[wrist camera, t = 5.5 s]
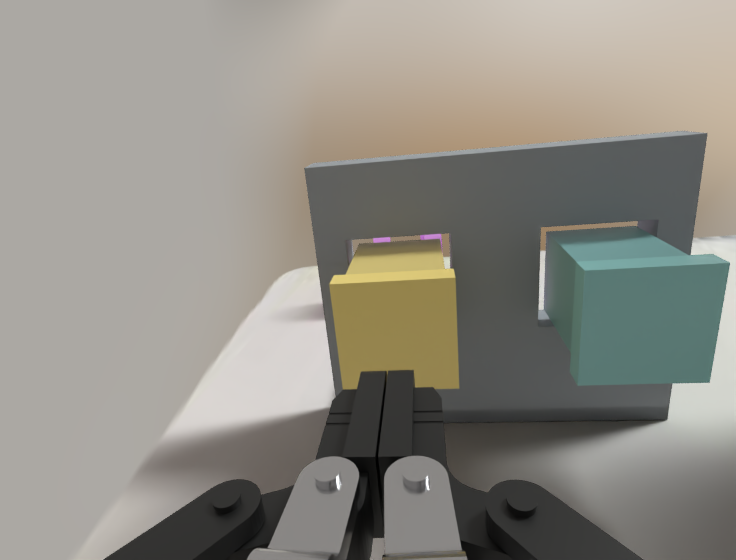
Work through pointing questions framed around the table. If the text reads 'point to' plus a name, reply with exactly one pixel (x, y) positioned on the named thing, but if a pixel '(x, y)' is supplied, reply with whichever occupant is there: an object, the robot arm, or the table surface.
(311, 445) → the table surface
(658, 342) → the teal button
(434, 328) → the mustard button
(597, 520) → the table surface
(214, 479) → the table surface
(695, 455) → the table surface
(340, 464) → the robot arm
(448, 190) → the panel
